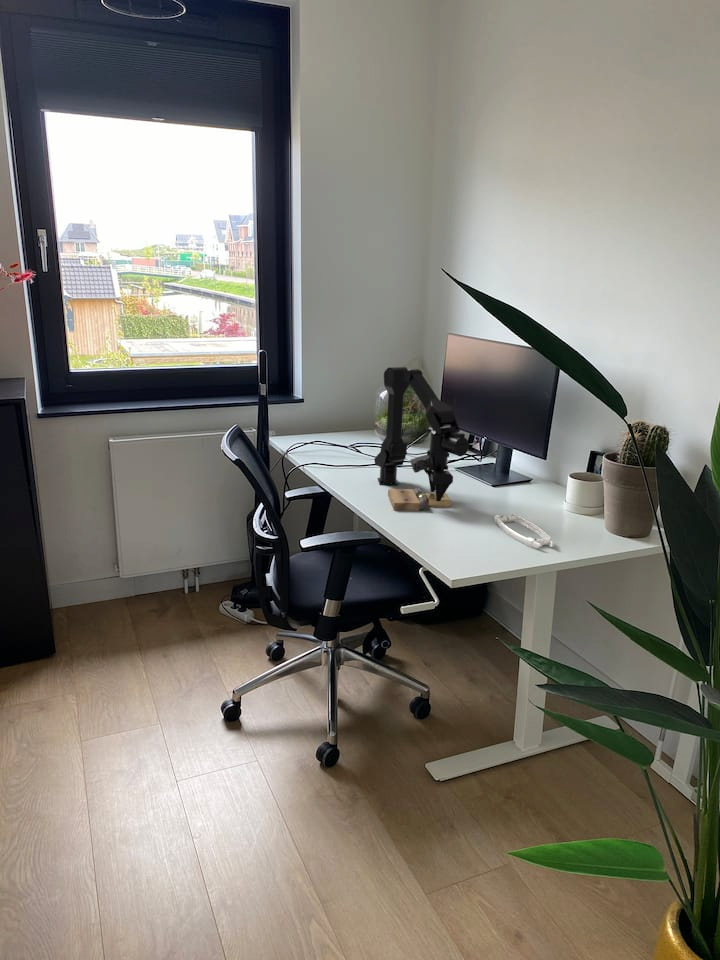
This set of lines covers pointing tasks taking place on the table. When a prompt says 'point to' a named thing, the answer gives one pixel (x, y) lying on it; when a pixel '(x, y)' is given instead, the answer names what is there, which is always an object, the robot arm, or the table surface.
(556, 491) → the table surface
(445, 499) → the tan knobbed block
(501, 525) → the door handle
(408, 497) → the tan flat piece
